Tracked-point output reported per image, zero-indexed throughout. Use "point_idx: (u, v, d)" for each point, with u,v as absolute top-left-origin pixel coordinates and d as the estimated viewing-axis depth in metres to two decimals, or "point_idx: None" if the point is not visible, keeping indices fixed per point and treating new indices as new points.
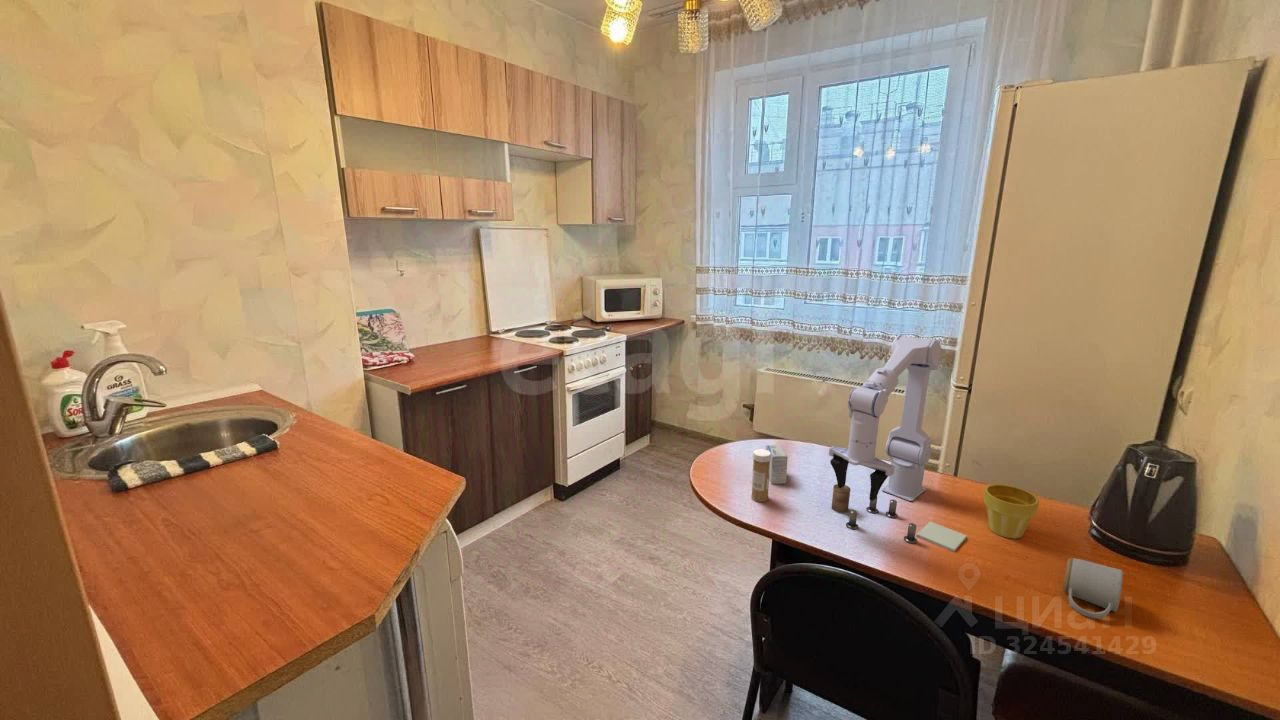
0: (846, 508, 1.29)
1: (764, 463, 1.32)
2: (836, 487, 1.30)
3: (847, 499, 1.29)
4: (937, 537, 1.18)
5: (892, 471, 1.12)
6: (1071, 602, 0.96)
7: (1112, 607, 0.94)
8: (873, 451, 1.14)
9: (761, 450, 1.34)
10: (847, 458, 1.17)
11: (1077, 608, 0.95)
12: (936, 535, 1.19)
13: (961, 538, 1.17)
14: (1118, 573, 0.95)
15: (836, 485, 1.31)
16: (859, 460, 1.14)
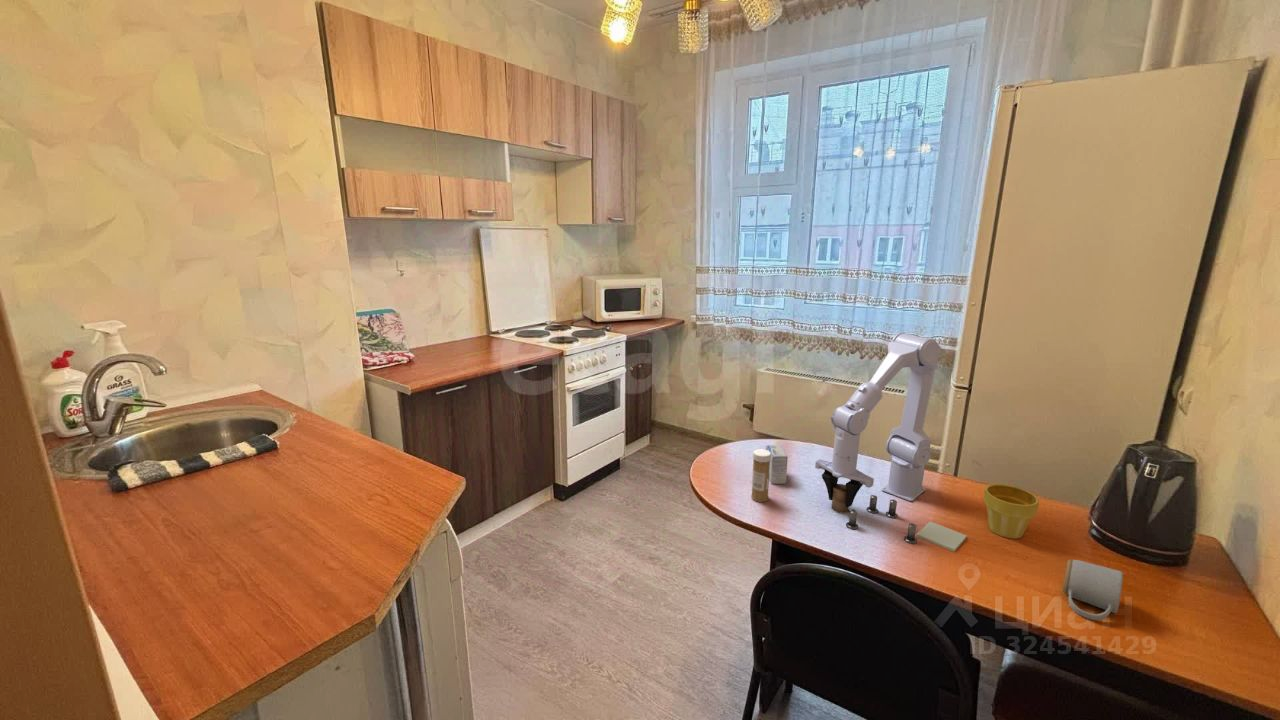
0: (846, 508, 1.29)
1: (764, 463, 1.32)
2: (836, 487, 1.30)
3: None
4: (937, 537, 1.18)
5: (871, 483, 1.23)
6: (1071, 604, 0.96)
7: (1112, 609, 0.94)
8: (855, 464, 1.26)
9: (761, 450, 1.34)
10: (831, 471, 1.28)
11: (1077, 610, 0.95)
12: (936, 535, 1.19)
13: (961, 538, 1.17)
14: (1118, 574, 0.94)
15: (836, 485, 1.31)
16: (842, 473, 1.26)
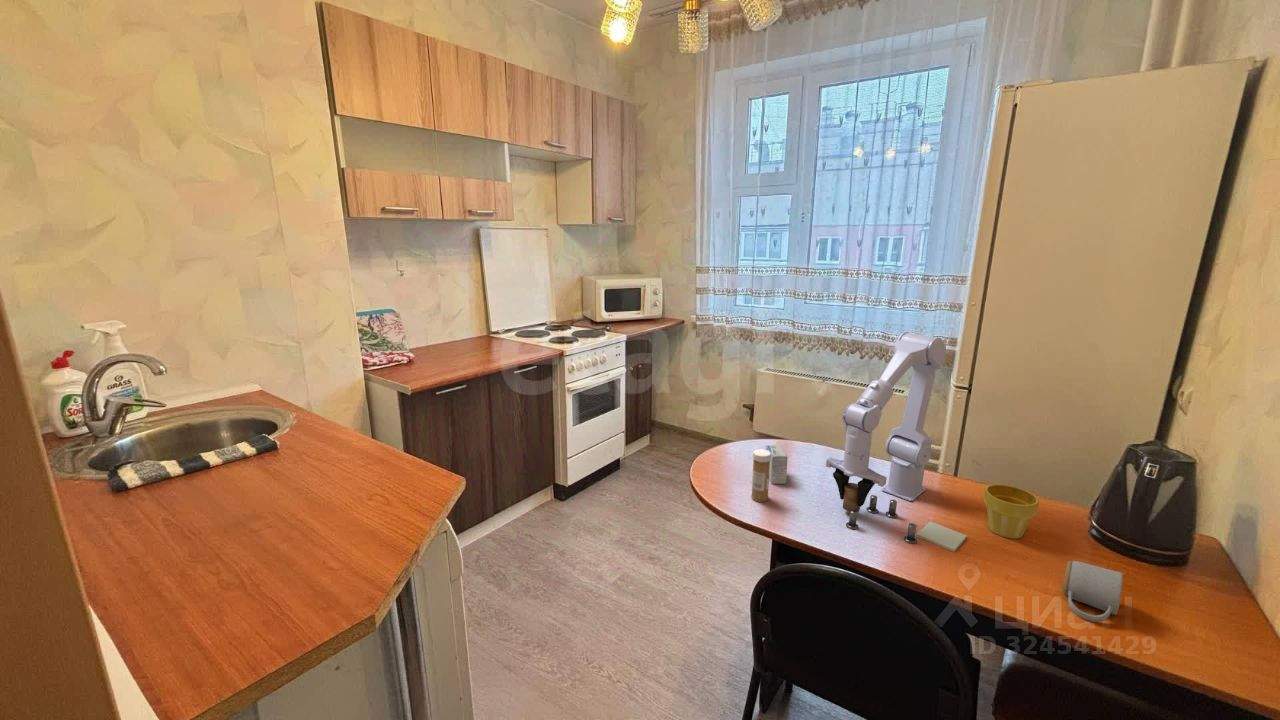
0: (858, 507, 1.27)
1: (764, 463, 1.32)
2: (848, 486, 1.27)
3: None
4: (937, 537, 1.18)
5: (884, 482, 1.21)
6: (1070, 605, 0.96)
7: (1112, 610, 0.93)
8: (867, 463, 1.23)
9: (761, 450, 1.34)
10: (843, 469, 1.26)
11: (1076, 611, 0.94)
12: (936, 535, 1.19)
13: (961, 538, 1.17)
14: (1118, 576, 0.94)
15: (847, 484, 1.28)
16: (854, 471, 1.23)
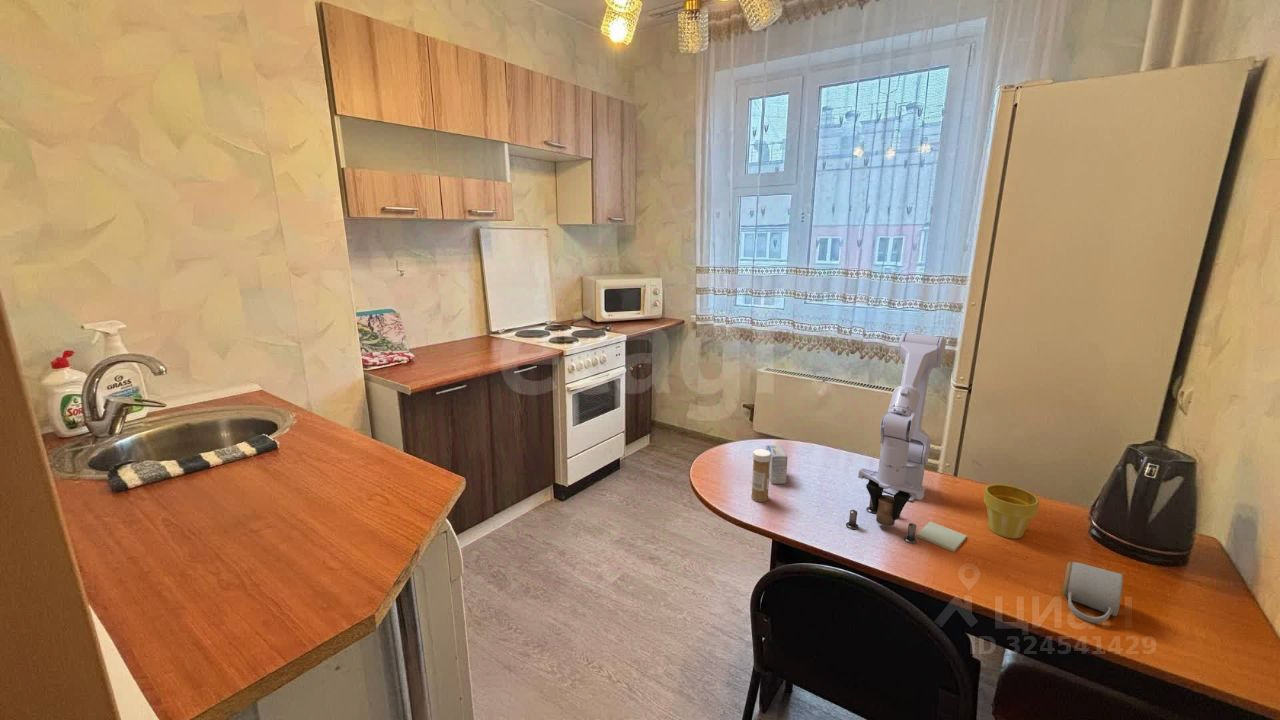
0: (893, 521, 1.21)
1: (764, 463, 1.32)
2: (882, 499, 1.21)
3: None
4: (937, 537, 1.18)
5: (922, 495, 1.15)
6: (1070, 606, 0.95)
7: (1112, 612, 0.93)
8: (903, 475, 1.17)
9: (761, 450, 1.34)
10: (877, 481, 1.20)
11: (1076, 612, 0.94)
12: (936, 535, 1.19)
13: (961, 538, 1.17)
14: (1118, 577, 0.94)
15: (881, 496, 1.22)
16: (889, 484, 1.17)
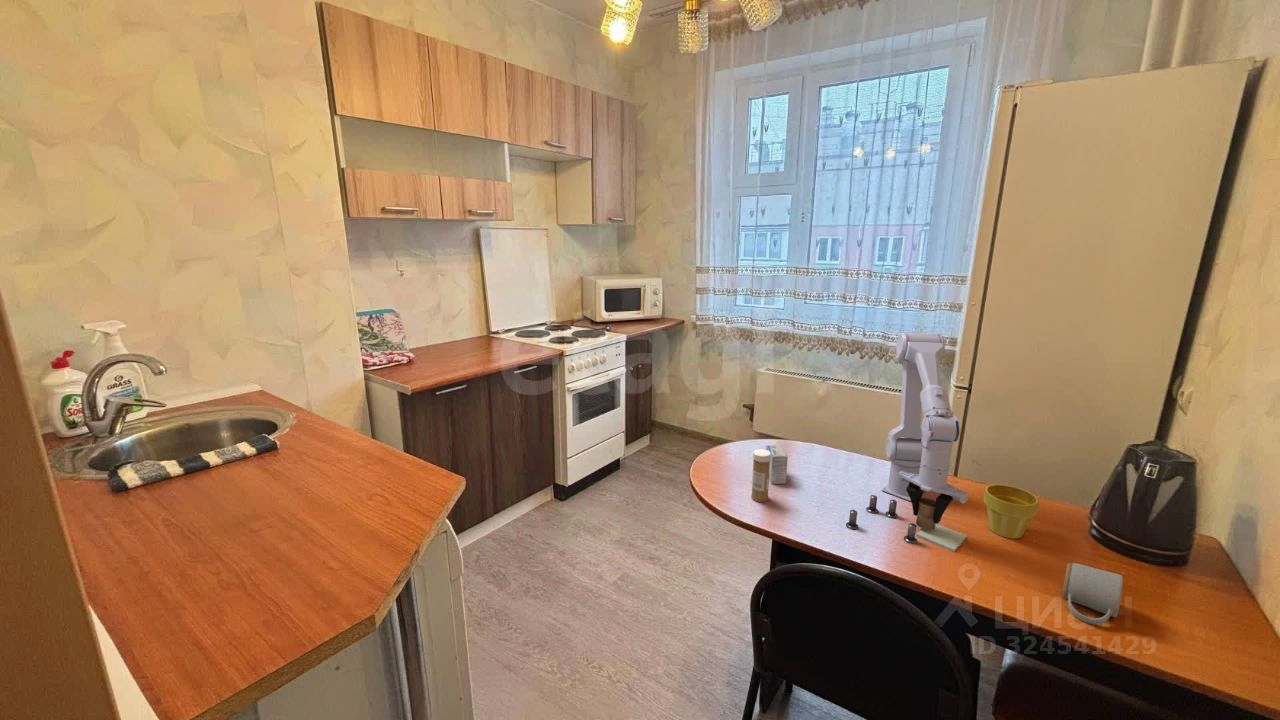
0: (934, 524, 1.19)
1: (764, 463, 1.32)
2: (923, 502, 1.20)
3: None
4: (937, 537, 1.18)
5: (966, 498, 1.13)
6: (1070, 607, 0.95)
7: (1112, 613, 0.92)
8: (946, 477, 1.16)
9: (761, 450, 1.34)
10: (918, 484, 1.18)
11: (1076, 614, 0.94)
12: (936, 535, 1.19)
13: (961, 538, 1.17)
14: (1118, 578, 0.93)
15: (922, 499, 1.21)
16: (932, 486, 1.16)
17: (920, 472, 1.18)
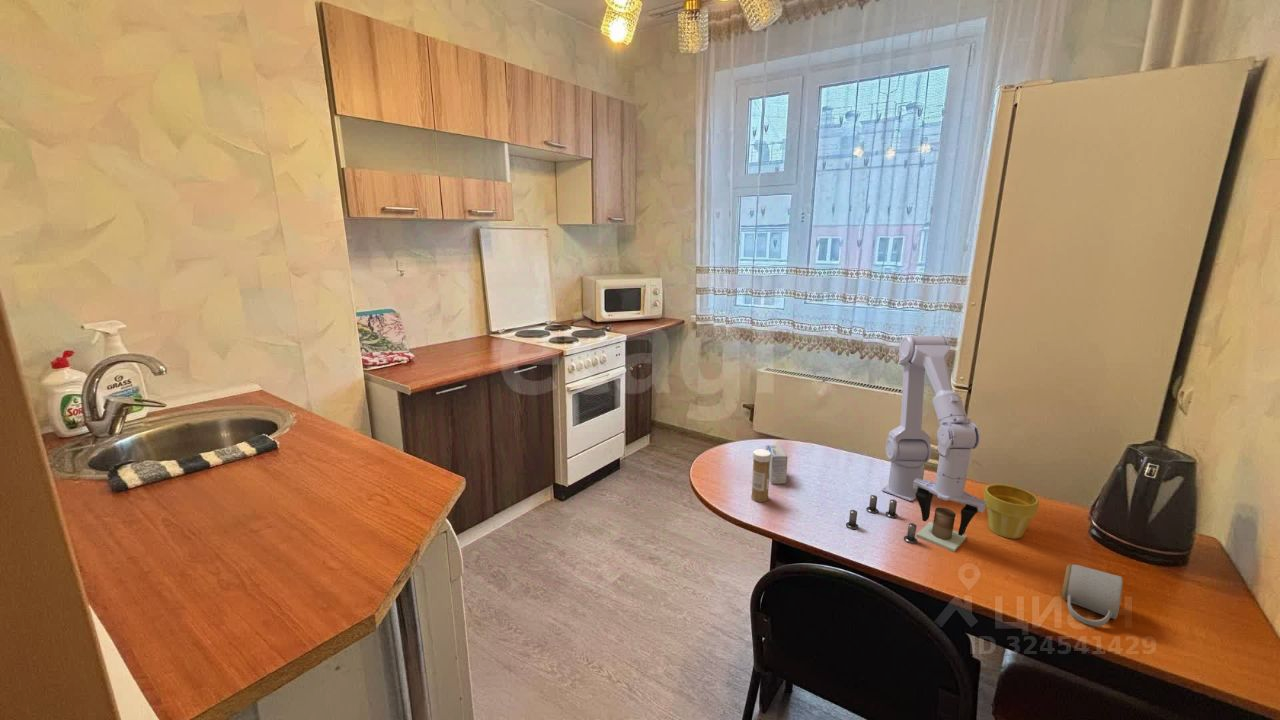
0: (950, 534, 1.17)
1: (764, 463, 1.32)
2: (939, 511, 1.17)
3: (952, 525, 1.16)
4: None
5: (984, 507, 1.11)
6: (1070, 609, 0.95)
7: (1111, 615, 0.92)
8: (964, 486, 1.13)
9: (761, 450, 1.34)
10: (935, 492, 1.16)
11: (1076, 615, 0.93)
12: None
13: (961, 538, 1.17)
14: (1118, 580, 0.93)
15: (938, 509, 1.18)
16: (949, 495, 1.13)
17: (937, 480, 1.16)
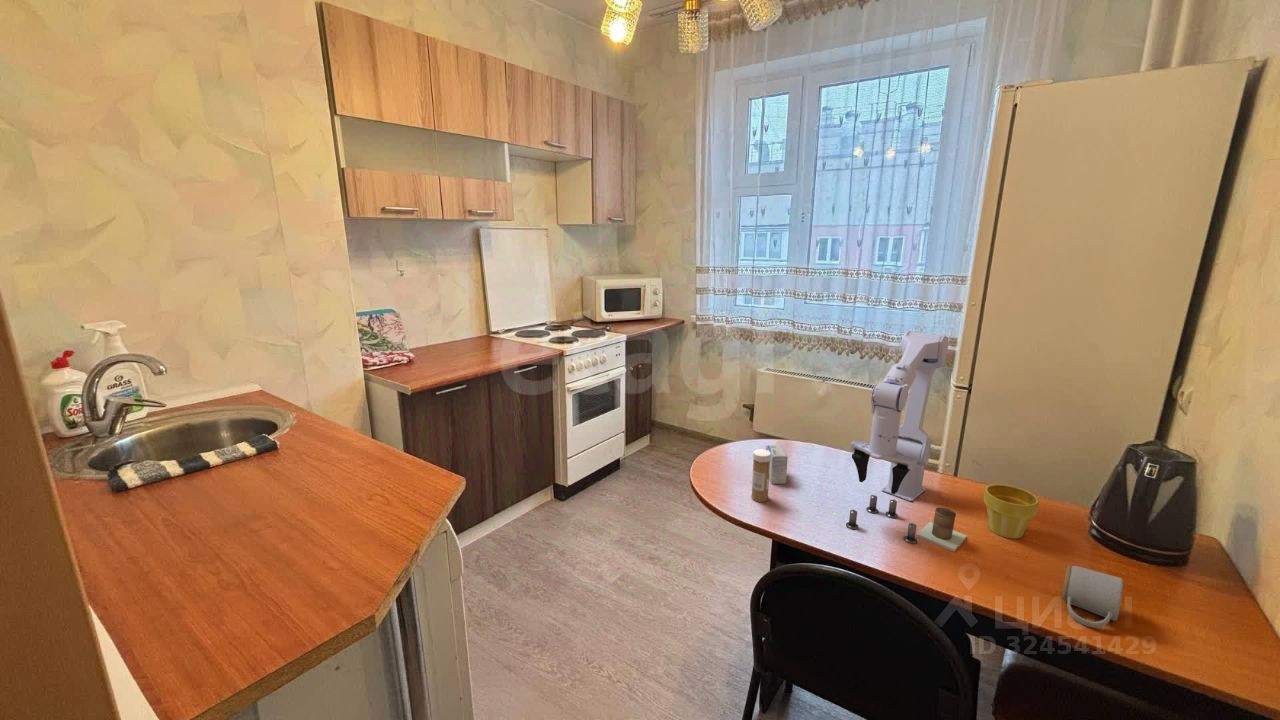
0: (950, 534, 1.17)
1: (764, 463, 1.32)
2: (939, 511, 1.17)
3: (952, 525, 1.16)
4: None
5: (914, 465, 1.14)
6: (1070, 611, 0.94)
7: (1112, 616, 0.92)
8: (895, 445, 1.16)
9: (761, 450, 1.34)
10: (869, 452, 1.19)
11: (1076, 617, 0.93)
12: None
13: (961, 538, 1.17)
14: (1118, 581, 0.93)
15: (938, 509, 1.18)
16: (881, 454, 1.16)
17: (870, 440, 1.19)
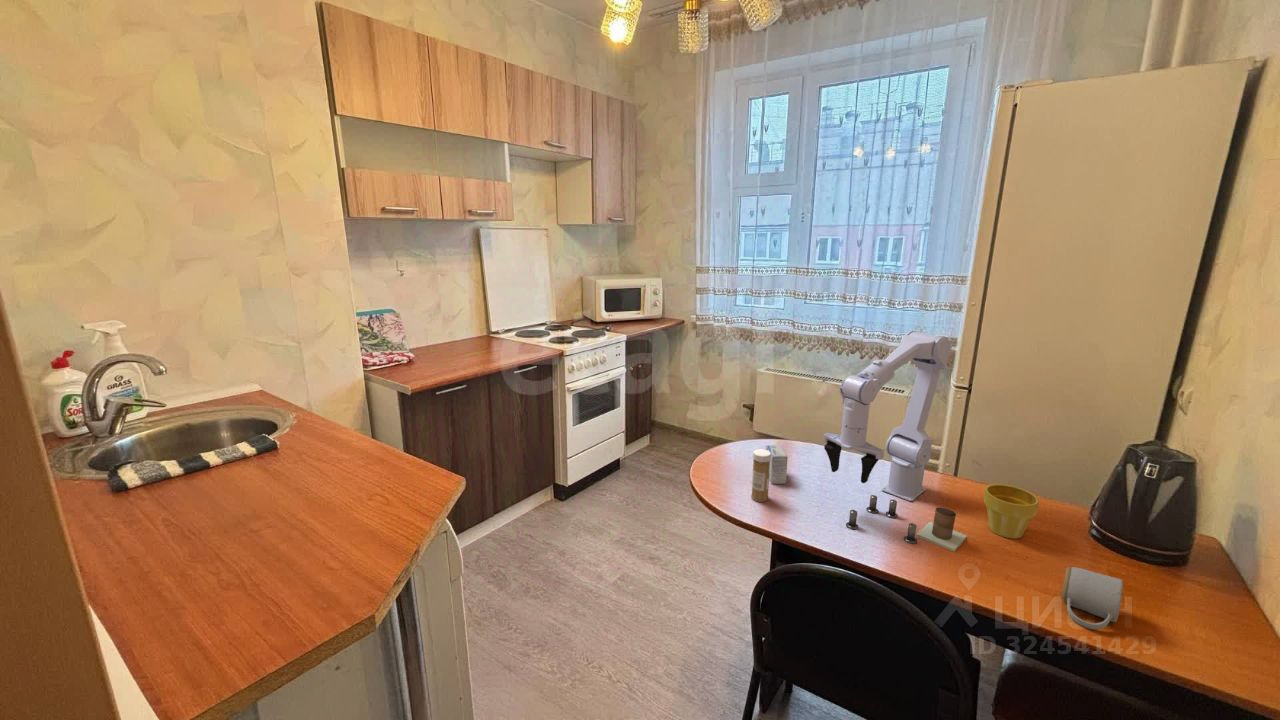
0: (950, 534, 1.17)
1: (764, 463, 1.32)
2: (939, 511, 1.17)
3: (952, 525, 1.16)
4: None
5: (882, 455, 1.19)
6: (1069, 612, 0.94)
7: (1111, 618, 0.91)
8: (864, 436, 1.21)
9: (761, 450, 1.34)
10: (840, 443, 1.24)
11: (1075, 618, 0.93)
12: None
13: (961, 538, 1.17)
14: (1118, 583, 0.92)
15: (938, 509, 1.18)
16: (851, 445, 1.22)
17: (841, 432, 1.24)
